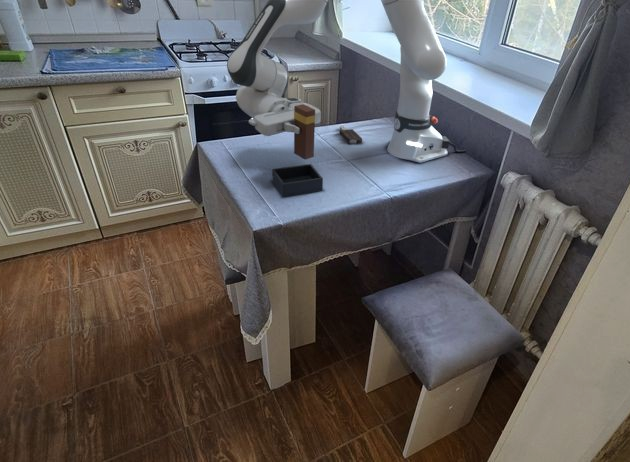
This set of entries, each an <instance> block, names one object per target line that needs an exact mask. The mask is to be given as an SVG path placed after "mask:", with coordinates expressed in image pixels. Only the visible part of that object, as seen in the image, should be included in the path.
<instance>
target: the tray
mask: <svg viewBox="0 0 630 462" xmlns="http://www.w3.org/2000/svg"><path fill="white" fill-rule="evenodd" d="M271 174H272V175H271V176H272V177H271V179H272V183H273V184H274V186H275V187H276V189H277V191H278V192H279V193H280V195H281V197H282V198H284V197H291V196H297V195H304V194H309V193H316V192H322V191H323V187H324V185H323V184H324V181H323V179H324V178H323V177H322V176H321V174H320V173H319V172H318V170H316V168H315V167H314V166H313V165H312V163H307V164H301V165H293V166H286V167H285V166H284V167H278V168H271Z"/></svg>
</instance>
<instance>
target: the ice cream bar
mask: <svg viewBox="0 0 630 462" xmlns="http://www.w3.org/2000/svg"><path fill="white" fill-rule="evenodd" d="M339 129H340V130H339V135H340V136H341V137H342V138H343V139H344V140H345V141H346V142H347V144H350V145H351V144H352V145H353V144H354V145H361V144H362V143H363V138H362V137H361V136H360V135H359V133H357V132H356V131H355V130H354V129H353V128H350V129H349V128H348V129H347V128H346V127H345V126H344V125H340V126H339Z"/></svg>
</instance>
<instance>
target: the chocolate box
mask: <svg viewBox="0 0 630 462" xmlns="http://www.w3.org/2000/svg"><path fill="white" fill-rule="evenodd" d="M294 125H295V126H297V125H298V126H300V127H301V128H302V133H300V134H296V133H294V132H293V134H294V135H293V154H294V155H296V156H299V157H300V158H301V159H303V160H308V159H311V158H314V157H315V156H314V155H315V130H316V129H315V127H316V124H315V109H312V108H310V107H308V106H306V105H304V104H302V105H297V106H294Z"/></svg>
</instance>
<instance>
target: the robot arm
mask: <svg viewBox="0 0 630 462" xmlns="http://www.w3.org/2000/svg"><path fill="white" fill-rule="evenodd" d="M380 1H381V4H382V7H383V9H384V11H385V15H386V16H387V19H388V21H389V24H390V27H391V29H392V31H393V32H394V35H395V37H396V39H397V41H398V43H399V45H400V63H399V64H400V66H399V67H400V68H399V77H400V78H399V93H398V103H397V108H396V111H395V115H394V120H393V131H392V135H391V138H390V141H389V143H388V146H387V147H386V150H387V153H389V154H390V155H391V156H393V157H396V158H399V159H401V160H407V161H412V162H414V163H419V164H421V163H424V162H428V161H431V160H434V159H439V158H442V157H445V156H448V149H449V146H450V145H451V146H452V147H453V151H454V152H455V153H457V154H460V153H467V149H461V150H458V149H457V145H455V143H453V142H452V141H450V139H448V138H447V136H446V135H441V133H440V132H439V131H438V130H436V128H435V127H434V126H433V125H436V124H437V123H438V122H439V120H438V118H437V117H435V116H432V115H430V111H431V106H432V99H433V95H434V94H433V83H432V82H433V81H434V80H437V79H439V78H440V77H441V76H442V75H443V74H444V72H445V71H446V68H447V64H448V63H447V62H448V61H447V57H446V54H445V51H444V49H443V47H442V45H441V42H440V39H439V37H438V35H437V32H436V31H435V28H434V26H433V24H432V22H431V19H430V18H429V15H428V13H427V11H426V8H425V5H424V2H423V0H380ZM328 2H329V0H268V1H267V3H266V4H265V5H264V6H263V8H262V9H261V10H260V12H259V14H258V15H257V17H256V19H255V20H254V21H253V23H252V24H251V26H250V28H249V29H248V31H247V32H246V34H245V35H244V37H243V38H242V40H241V42H240V43H239V44H238V46H236V47H235V48H234V50H233V51H231V53H230V55H229V56H228V58H227V61H226V69H227V73H228V76H229V77H230V79H231V81H232V82H233V83H234V84H236V85H238V86H239V88H238V89H237V90H236V94H235V101H236V104H237V105H238V107H239V109H240V110H241V111H242V112H244V113H245V114H246V115H248V116H249V117H250V119H249V120H248V124H250V125H251V126H254V129H255V130H256V131H257V132H258V133H260V134H261V135H262V136H265V137H270V136H274V135H278V134H283V133H293V134H294V133H296V134H300V133H302V128H301V127H300V126H298V125H297V126H295V125H294V106H297V105H302V104H304V105H306V106H308V107H310V108H312V109H315V125H316V124H317V125H318V124H320V123H321V121H322V112H321V110H320V108H317V107H316V106H314V105H311V104H309V103H307V102H303V100H302V99H301V98H298V97H294V98H293V97H284V95H285V93H286V92H287V89H288V85H289V81H290V79H289V72H288V70H287V68H286V66H285V65H284V64H282V63H280V62H279V61H276V60H274V59H272V58H269V57H267V56H265V55H262V54H261V53H262V51H263V50H264V48H265V47H266V46H267V44H268V42H269V41H270V39H271V38H272V36H273V34H274V33H275V31H277V30H278V29H279V28H281V27H284V26H288V25H292V26H293V25H295V26H306V25H310V24H313V23H314V22H317V20H319V18H320V17H321V16H322V14H323V12H324V10H325V8H326V5H327V4H328ZM432 124H433V125H432Z"/></svg>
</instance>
